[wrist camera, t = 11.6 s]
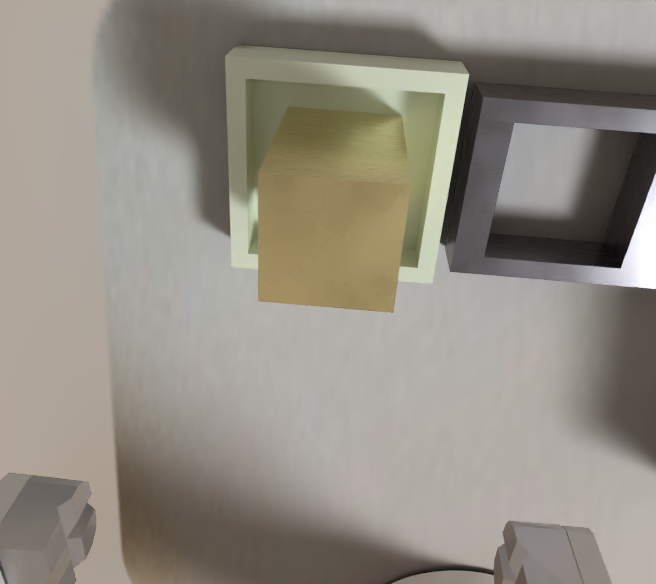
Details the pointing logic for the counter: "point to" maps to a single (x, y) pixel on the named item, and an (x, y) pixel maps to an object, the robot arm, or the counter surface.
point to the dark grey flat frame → (540, 253)
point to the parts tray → (345, 95)
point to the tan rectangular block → (333, 210)
